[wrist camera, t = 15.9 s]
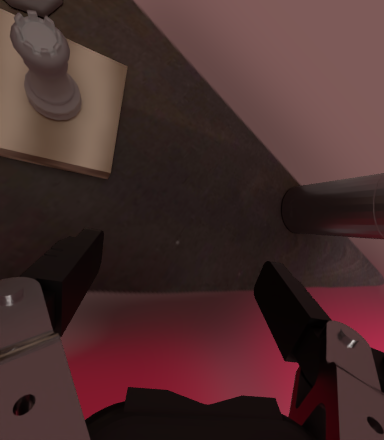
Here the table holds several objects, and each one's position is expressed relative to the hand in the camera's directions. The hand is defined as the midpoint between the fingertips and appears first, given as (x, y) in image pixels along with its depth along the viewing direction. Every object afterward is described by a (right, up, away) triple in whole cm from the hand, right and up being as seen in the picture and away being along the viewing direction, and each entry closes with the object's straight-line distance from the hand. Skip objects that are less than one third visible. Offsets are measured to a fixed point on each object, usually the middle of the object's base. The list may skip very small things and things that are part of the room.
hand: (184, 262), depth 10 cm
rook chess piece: (-13, +14, +10) cm, 21 cm away
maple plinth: (-15, +14, +13) cm, 24 cm away
